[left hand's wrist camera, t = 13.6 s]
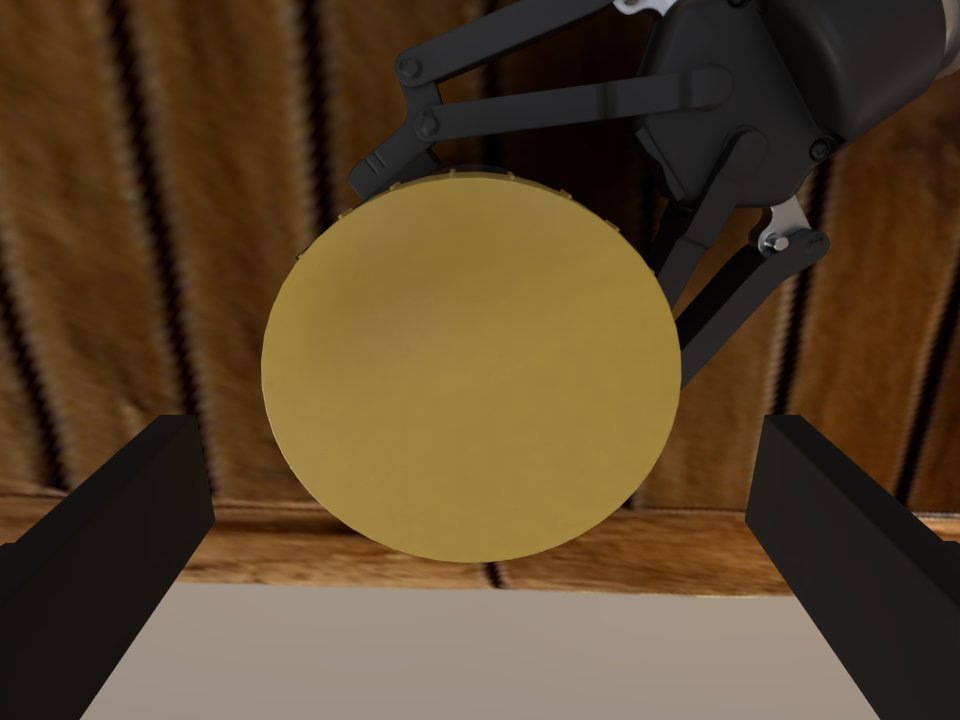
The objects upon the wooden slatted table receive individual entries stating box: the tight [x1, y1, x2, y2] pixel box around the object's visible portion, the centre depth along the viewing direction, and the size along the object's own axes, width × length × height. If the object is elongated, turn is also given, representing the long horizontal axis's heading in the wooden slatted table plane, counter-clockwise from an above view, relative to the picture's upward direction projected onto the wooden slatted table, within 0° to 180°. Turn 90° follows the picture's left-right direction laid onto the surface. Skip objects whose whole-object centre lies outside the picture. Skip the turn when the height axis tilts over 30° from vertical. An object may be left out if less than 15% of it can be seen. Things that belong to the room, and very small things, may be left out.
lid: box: [261, 169, 681, 562], centre depth 17 cm, size 11×11×2 cm
